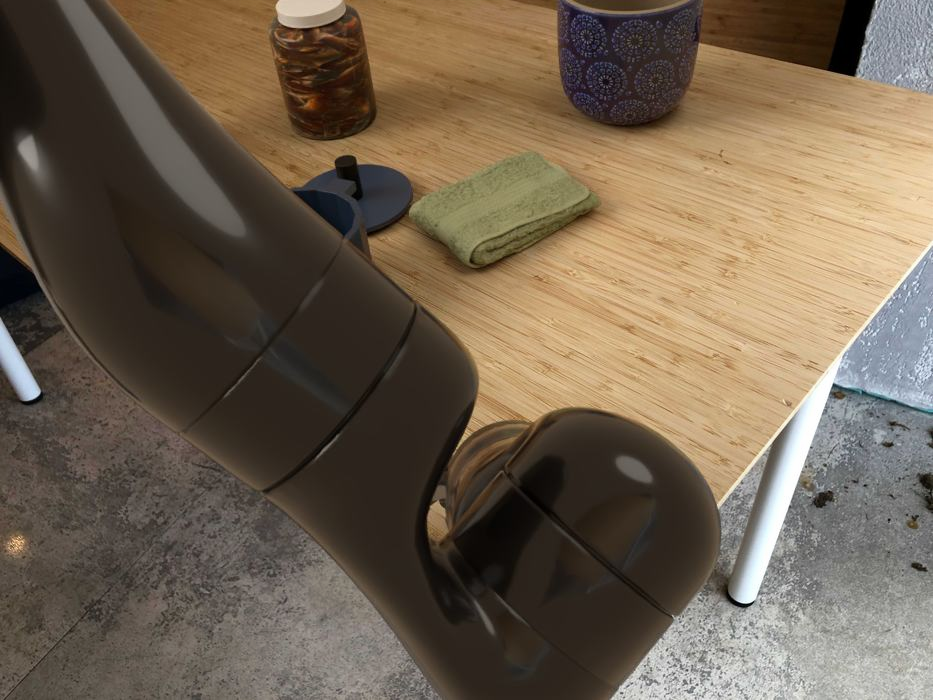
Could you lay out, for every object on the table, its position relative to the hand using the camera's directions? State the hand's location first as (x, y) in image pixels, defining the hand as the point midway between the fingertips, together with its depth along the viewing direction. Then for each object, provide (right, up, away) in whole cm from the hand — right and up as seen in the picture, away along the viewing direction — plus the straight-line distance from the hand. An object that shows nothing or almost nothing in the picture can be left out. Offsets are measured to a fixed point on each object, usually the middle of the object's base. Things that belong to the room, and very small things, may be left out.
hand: (499, 464), depth 60 cm
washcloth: (+2, +22, +31) cm, 38 cm away
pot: (-17, +14, +24) cm, 33 cm away
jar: (-20, +38, +51) cm, 66 cm away
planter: (+18, +39, +46) cm, 63 cm away
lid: (-15, +25, +35) cm, 45 cm away
